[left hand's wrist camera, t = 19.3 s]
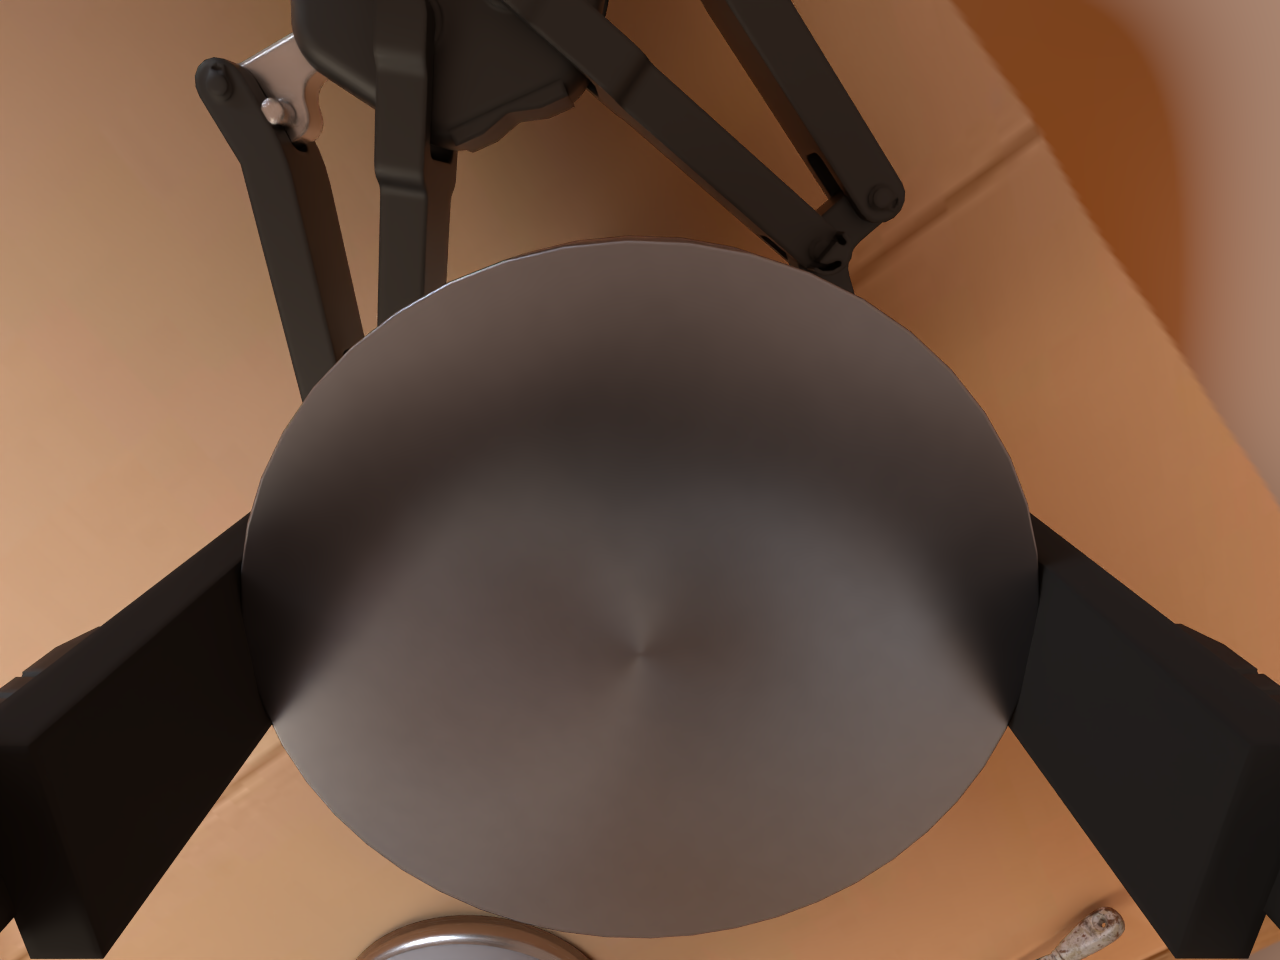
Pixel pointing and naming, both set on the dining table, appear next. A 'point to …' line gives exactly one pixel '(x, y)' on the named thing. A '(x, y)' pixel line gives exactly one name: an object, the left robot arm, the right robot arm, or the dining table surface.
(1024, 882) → the dining table surface
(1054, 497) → the dining table surface
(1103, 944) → the putty knife
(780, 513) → the lid
